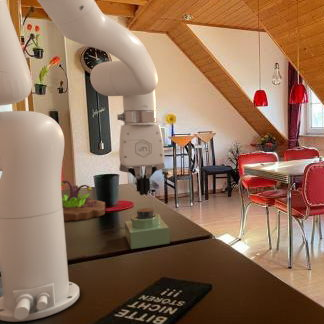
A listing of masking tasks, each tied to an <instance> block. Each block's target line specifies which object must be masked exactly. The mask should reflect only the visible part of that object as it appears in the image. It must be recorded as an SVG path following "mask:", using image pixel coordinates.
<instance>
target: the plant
mask: <svg viewBox="0 0 324 324" xmlns="http://www.w3.org/2000/svg"><path fill="white" fill-rule="evenodd" d="M66 183H67V184H68V186H69V195H67V194H63V197H62V207H63V217H64V222H72V221H73V222H76V221H85V220H89V219H92V218H99V217H102V216H104V215H105V214H106V202H105V201H102V200H97V199H92V198H90V197H89V195H90V193H87V194H84V195H82V194H81V193H80V191H81V189H82V188H84V187H85V188H86V191H87V192H91V191H92V187H91V186H90V185H87V184H81V185H80V186H79V185H77V184H74V185H73V184H72V183H71V182H70V181H69V180H61V187H64V186H65V185H66ZM81 195H82V197H81Z"/></svg>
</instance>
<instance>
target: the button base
mask: <svg viewBox="0 0 324 324" xmlns="http://www.w3.org/2000/svg"><path fill="white" fill-rule="evenodd" d="M124 232H125V238H126V241H127V243H128V245H129V247H130V249H131V250H134V249H141V248H147V247H155V246H161V245H168V244H170V243H171V242H170V241H171V240H170V227H169V226H168V224H166V223H165V221H164V220H163V219H162V218H161V215H160V213H156V212H154V217H153V218H148V219H138V218H137V214H134V215H133V216H131V217H130V220H126V221H124Z"/></svg>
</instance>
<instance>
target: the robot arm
mask: <svg viewBox="0 0 324 324" xmlns="http://www.w3.org/2000/svg"><path fill="white" fill-rule="evenodd" d="M36 1H37V2H38V4H39V5H40V6H41V8H42V9H43V11H44V12H45V13H46V14H47V16H48V17H49V18H50V20H51V21H52V23H53V24H54V25H55V27H56V28H57V30H58V31H59V32H60V34H61V36H63V37H65V38H66V39H68V40H70V41H72V42H74V43H77V44H79V45H82V46H83V45H84V46H86V47H90V48H93V49H96V50H99V51H102V52H105V53H107V54H109V55H111V56H113V57H115V58H116V59H118V60H114V61H113V60H112V61H111V60H110V61H104V62H100V63H98V64H96V65H94V67H93V68H92V69H91V71H90V74H89V75H90V76H89V80H90V83H91V86H92V88H93V89H94V90H95V91H96V92H97V93H98V94H100V95H102V96H106V97H122V109H123V110H122V111H123V112H122V113H120V114H117V113H116V114H117V115H116V118H117V121H122V122H123V125H121V126H120V133H119V147H118V148H119V162H120V163H119V167H118V170H119V171H120V172H123V173H129V174H130V175H132V176H133V177H134V178H135V185H136V186H135V187H136V192H137V193H139V195H140V196H144V195H145V196H148V195H149V192H150V191H151V181H150V180H151V179H150V178H151V177H152V176H153V175H154V174H155V173H156V172H157V171H160V170H164V169H165V168H166V166H165V148H164V139H163V133H162V127H161V124H157V107H156V105H157V103H156V88H157V86H158V84H159V83H158V82H159V76H158V71H157V68H156V66H155V63H154V61H153V59H152V57H151V55H150V54H149V52H148V50H147V48H146V46H145V45H144V43H143V42H142V41H141V40H140V39H139V38H138V37H137V36H136V35H135V34H134V33H133V32H132V31H130V30H129V29H127V28H126V27H125V26H123V25H122V24H120V23H119V22H117V21H116V20H114V19H113V18H111V17H109V16H108V15H106V14H104V13H103V12H102V10H101V9H100V7H99V5H98V4H97V3H96V1H95V0H36ZM32 90H33V79H32V74H31V70H30V68H29V65H28V62H27V58H26V57H25V53H24V50H23V48H22V45H21V43H20V40H19V37H18V34H17V31H16V28H15V25H14V23H13V19H12V16H11V13H10V10H9V6H8V1H7V0H0V107H1V106H9V105H15V104H18V103H20V102H22V101H24V100H26V99H27V98H28V97H29V96H30V94H31V93H32ZM64 153H65V135H64V132H63V130H62V128H61V126H60V125H59V123H58V122H57V121H56V120H55V119H54V118H52V117H51V116H49V115H47V114H45V113H42V112H38V111H31V110H9V111H8V110H6V111H0V172H1V175H0V278H1V288H2V289H1V290H2V295H1V296H0V321H3V322H9V323H10V322H11V323H18V322H20V323H21V322H29V321H34V320H38V319H39V320H40V319H44V318H47V317H50V316H53V315H55V314H58V313H60V312H62V311H64V310H66V309H68V308H69V307H71V306H72V305H74V304H75V303H76V301H77V300H78V299H79V297H80V287H79V285H78V284H76V283H74V282H72V281H69V279H70V278H69V270H68V269H69V268H68V257H67V256H68V255H67V254H68V253H67V243H66V231H65V230H66V229H65V221H64V217H63V207H62V198H63V195H62V194H63V193H62V186H61V182H62V168H63V161H64ZM141 167H144V173H143V176H142V174H141V169H140V168H141Z"/></svg>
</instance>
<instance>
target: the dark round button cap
mask: <svg viewBox="0 0 324 324" xmlns="http://www.w3.org/2000/svg"><path fill="white" fill-rule="evenodd" d="M154 213H155V210H154V208H153V207H152V208H151V207H144V208H139V209H136V215H137V218H138V219H148V218H153V217H154Z"/></svg>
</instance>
